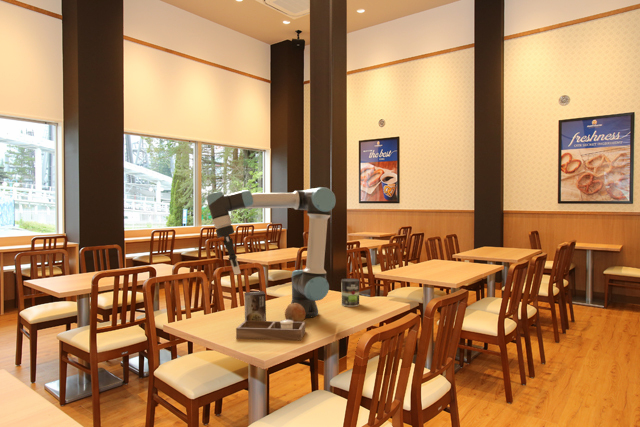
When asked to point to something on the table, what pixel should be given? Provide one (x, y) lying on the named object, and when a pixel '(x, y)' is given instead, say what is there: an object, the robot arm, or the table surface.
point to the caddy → (269, 330)
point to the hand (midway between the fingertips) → (237, 273)
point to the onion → (295, 312)
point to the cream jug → (286, 324)
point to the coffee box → (255, 306)
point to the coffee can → (350, 292)
